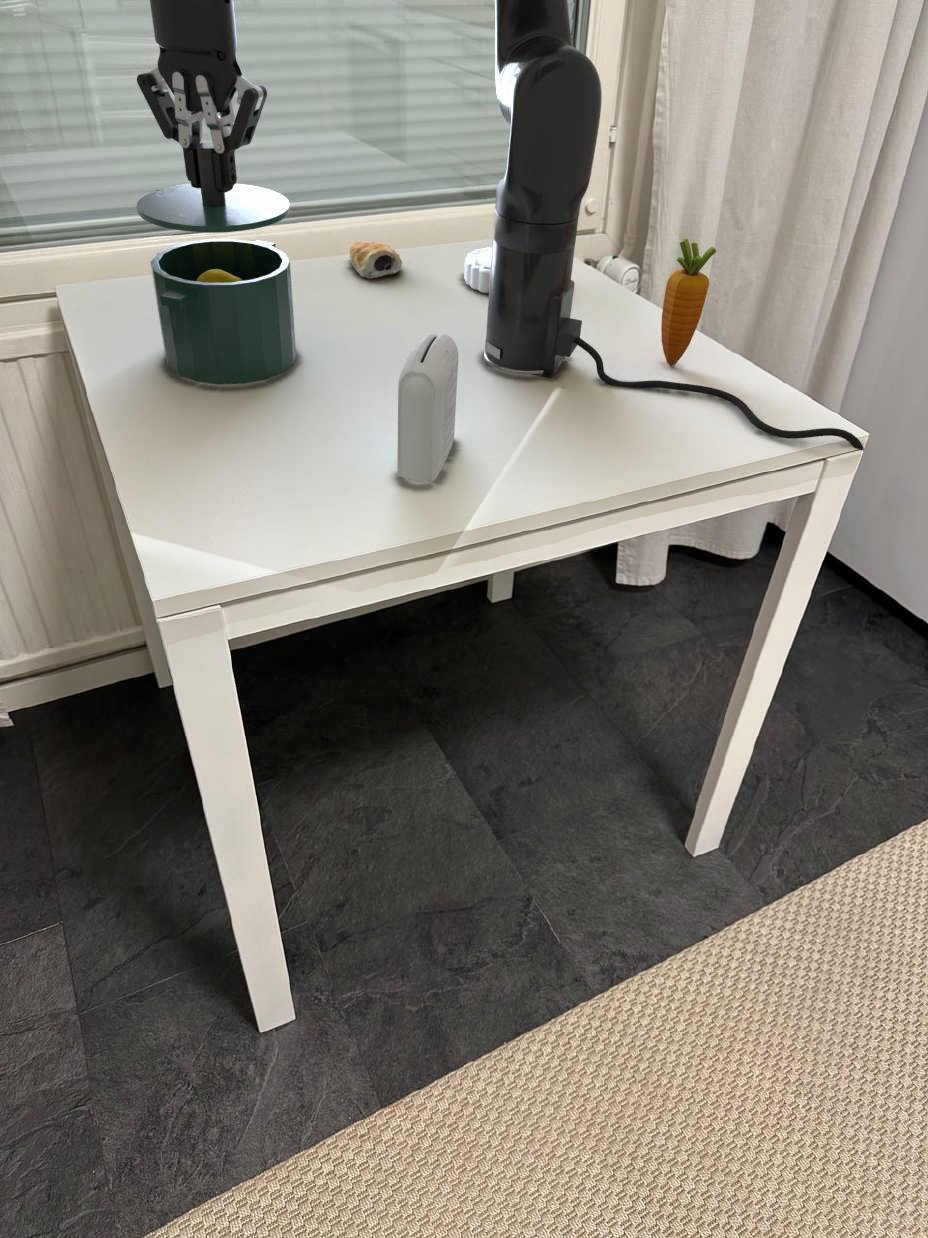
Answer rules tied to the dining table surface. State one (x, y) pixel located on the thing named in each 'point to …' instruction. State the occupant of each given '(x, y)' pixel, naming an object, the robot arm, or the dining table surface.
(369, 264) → the pastry
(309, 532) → the dining table surface
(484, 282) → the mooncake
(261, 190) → the lid
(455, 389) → the photo printer
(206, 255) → the pot
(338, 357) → the dining table surface
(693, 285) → the carrot
